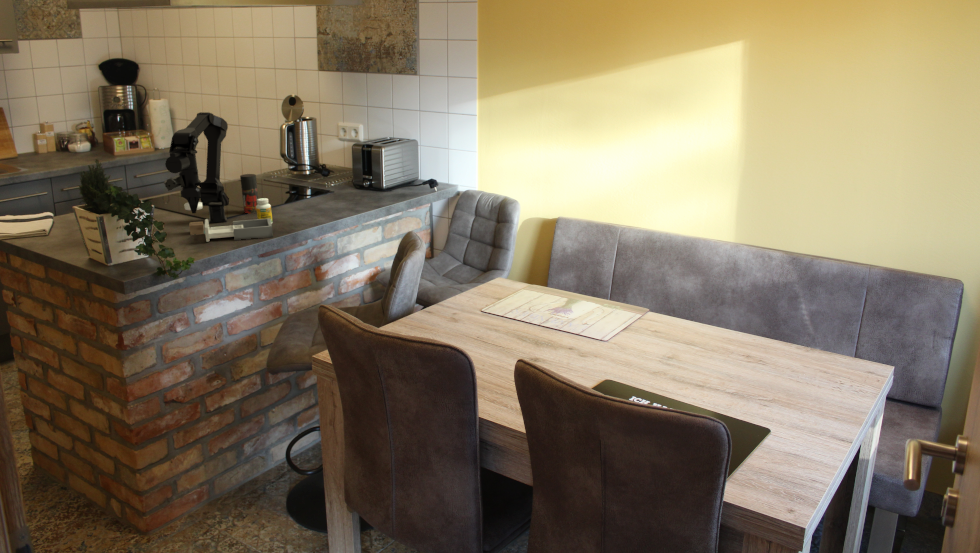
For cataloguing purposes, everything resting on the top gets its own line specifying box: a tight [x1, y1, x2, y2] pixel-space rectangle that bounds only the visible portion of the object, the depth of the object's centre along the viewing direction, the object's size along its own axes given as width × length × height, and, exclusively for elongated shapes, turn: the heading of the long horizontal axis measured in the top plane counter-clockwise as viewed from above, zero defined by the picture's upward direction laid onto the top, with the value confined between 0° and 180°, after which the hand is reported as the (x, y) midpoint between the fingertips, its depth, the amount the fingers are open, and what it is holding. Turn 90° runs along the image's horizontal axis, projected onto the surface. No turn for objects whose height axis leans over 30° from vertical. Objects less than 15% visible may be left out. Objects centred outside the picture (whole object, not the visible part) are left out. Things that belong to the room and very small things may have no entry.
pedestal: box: [188, 221, 205, 236], centre depth 263 cm, size 4×4×4 cm
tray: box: [203, 218, 243, 242], centre depth 258 cm, size 12×13×5 cm
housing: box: [232, 218, 274, 241], centre depth 261 cm, size 12×13×4 cm
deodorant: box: [240, 173, 259, 215], centre depth 291 cm, size 6×6×15 cm
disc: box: [183, 201, 204, 211], centre depth 260 cm, size 6×6×2 cm
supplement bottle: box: [256, 197, 274, 225], centre depth 274 cm, size 5×5×10 cm
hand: (194, 211), depth 261 cm, fingers closed on disc, 6 cm apart
